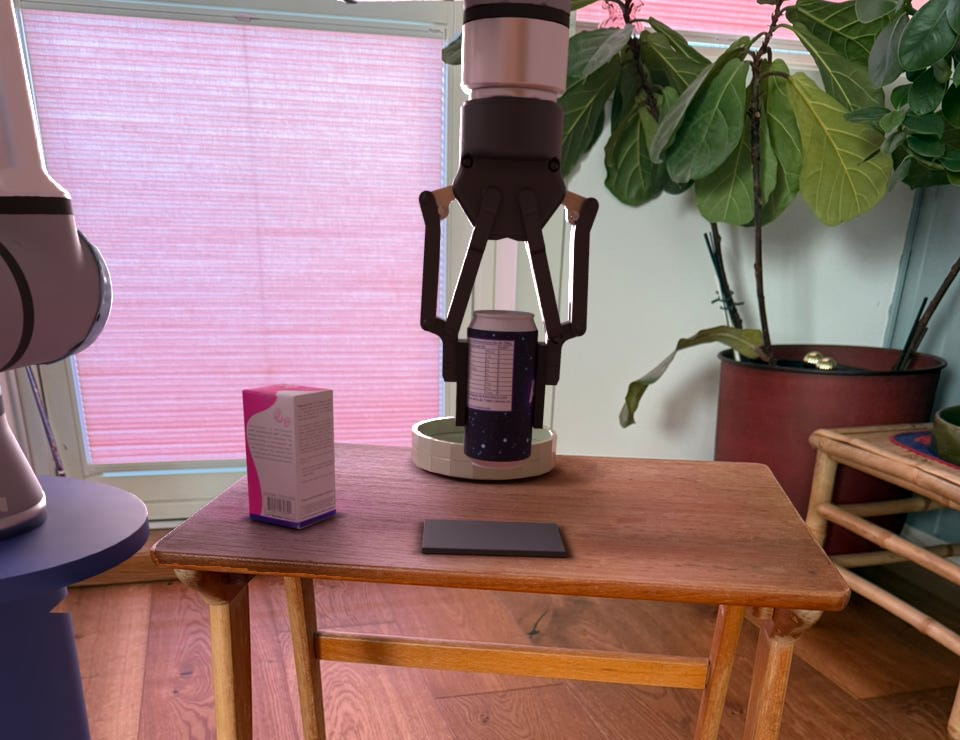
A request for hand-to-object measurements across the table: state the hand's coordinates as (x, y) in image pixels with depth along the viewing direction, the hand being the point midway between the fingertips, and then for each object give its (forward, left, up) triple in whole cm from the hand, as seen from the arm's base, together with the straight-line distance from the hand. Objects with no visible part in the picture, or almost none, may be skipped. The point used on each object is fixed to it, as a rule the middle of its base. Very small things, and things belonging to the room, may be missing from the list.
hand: (498, 423), depth 75 cm
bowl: (0, +27, -10) cm, 29 cm away
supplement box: (-18, +5, -10) cm, 21 cm away
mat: (0, 0, -10) cm, 10 cm away
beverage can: (0, 0, -4) cm, 4 cm away
